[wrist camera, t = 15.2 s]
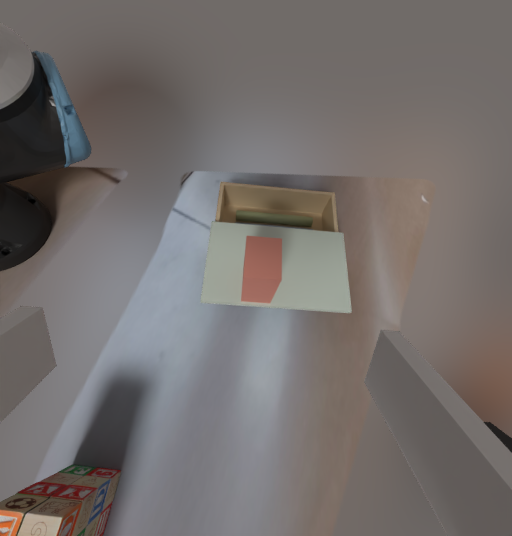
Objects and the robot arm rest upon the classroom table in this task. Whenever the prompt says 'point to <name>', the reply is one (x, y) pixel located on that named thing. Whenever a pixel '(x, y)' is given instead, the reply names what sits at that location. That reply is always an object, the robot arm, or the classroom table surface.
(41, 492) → the stack of blocks
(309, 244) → the lid
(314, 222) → the carton
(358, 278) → the classroom table surface
